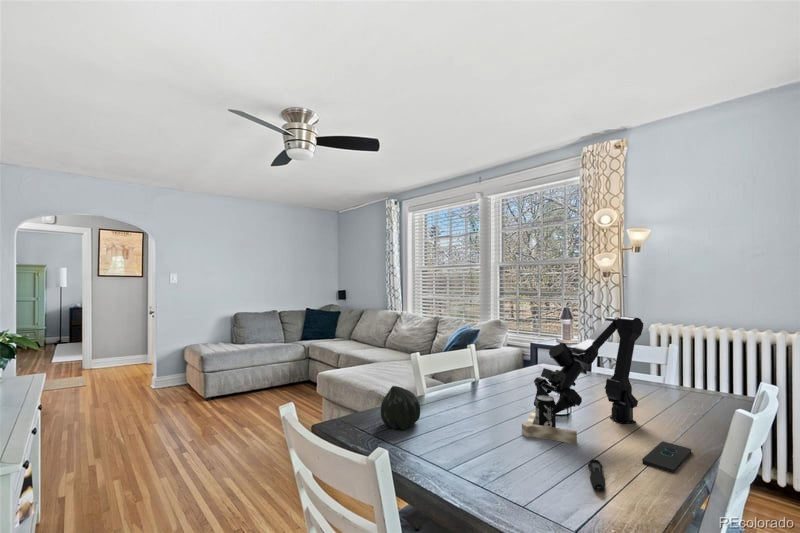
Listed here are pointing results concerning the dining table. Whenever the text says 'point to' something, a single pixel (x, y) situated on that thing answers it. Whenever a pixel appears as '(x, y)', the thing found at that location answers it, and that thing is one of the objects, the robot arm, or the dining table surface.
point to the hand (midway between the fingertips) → (543, 409)
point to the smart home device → (667, 457)
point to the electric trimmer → (597, 475)
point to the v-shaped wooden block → (547, 431)
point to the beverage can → (545, 411)
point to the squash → (400, 408)
